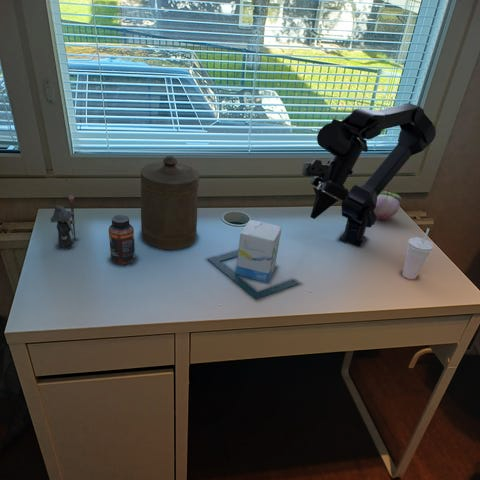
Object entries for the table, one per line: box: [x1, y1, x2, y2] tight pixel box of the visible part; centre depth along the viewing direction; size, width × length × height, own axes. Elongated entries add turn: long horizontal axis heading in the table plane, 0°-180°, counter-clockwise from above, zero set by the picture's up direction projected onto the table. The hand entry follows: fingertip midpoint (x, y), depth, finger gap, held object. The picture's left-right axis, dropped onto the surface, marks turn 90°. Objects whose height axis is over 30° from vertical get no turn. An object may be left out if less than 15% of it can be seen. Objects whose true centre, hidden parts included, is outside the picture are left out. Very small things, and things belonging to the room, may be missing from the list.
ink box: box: [235, 219, 283, 283], centre depth 117 cm, size 9×8×12 cm
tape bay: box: [207, 250, 299, 300], centre depth 120 cm, size 14×20×1 cm
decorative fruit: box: [374, 189, 403, 220], centre depth 150 cm, size 9×8×10 cm
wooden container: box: [140, 155, 200, 250], centre depth 123 cm, size 15×15×22 cm
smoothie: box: [401, 227, 434, 280], centre depth 122 cm, size 6×6×14 cm
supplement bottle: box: [108, 214, 136, 266], centre depth 115 cm, size 6×6×11 cm
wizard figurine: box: [49, 194, 76, 250], centre depth 118 cm, size 8×6×12 cm
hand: (312, 218), depth 122 cm, fingers closed
